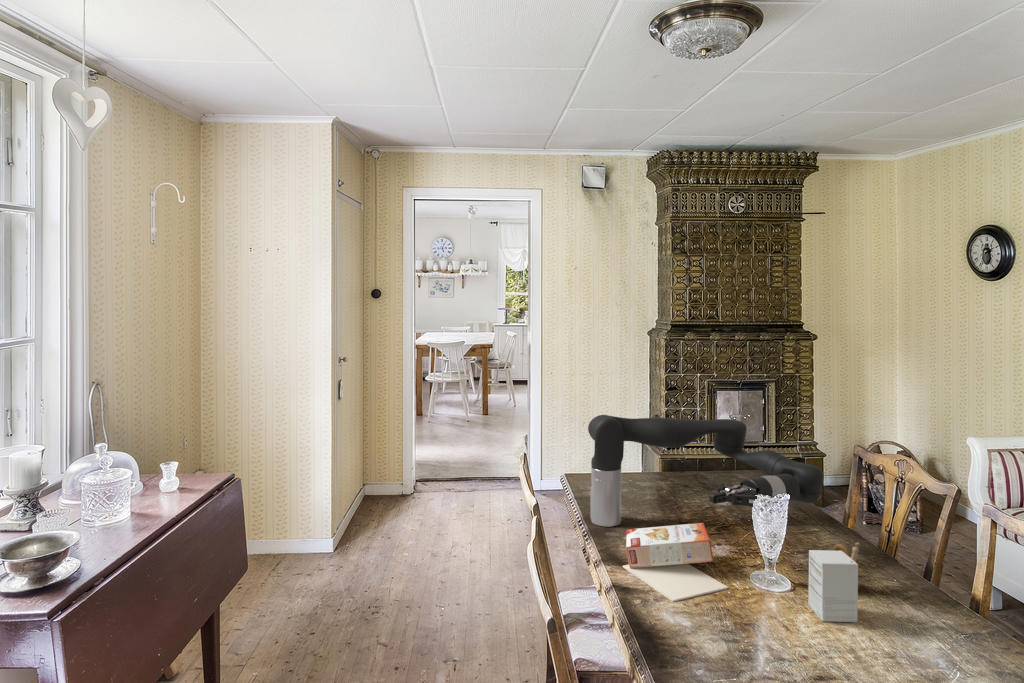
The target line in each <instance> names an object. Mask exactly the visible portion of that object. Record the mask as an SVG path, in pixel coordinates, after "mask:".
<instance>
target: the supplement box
mask: <svg viewBox="0 0 1024 683" xmlns="http://www.w3.org/2000/svg"><path fill="white" fill-rule="evenodd" d="M858 592H859V564H858V563H857V561H856V562H855V561H854V560H852V559H851V558H850V557H849V556H848V555H846V554H845V553H844V552H843V551H833V550H826V549H825V550H818V549H809V550H808V595H807V596H808V598H807V599H808V601H807V603H808V606H809V607H810V608H811V609H812V611H813V612H814V613H815V615H816V616H817V617H818V618H819V619H820V620H821V622H839V623H858V618H859V616H858V607H859V606H858V605H859V604H858V602H859V601H858V599H859V598H858V596H859V593H858Z"/></svg>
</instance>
